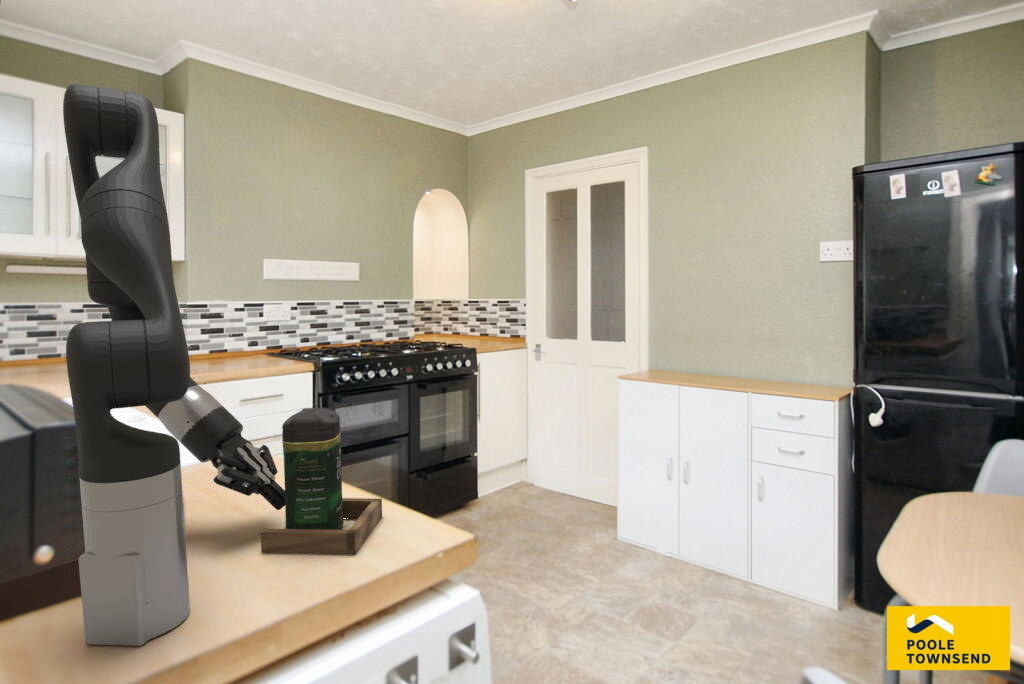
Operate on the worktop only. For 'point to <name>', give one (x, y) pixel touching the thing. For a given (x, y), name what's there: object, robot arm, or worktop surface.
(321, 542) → the wooden u-shaped frame
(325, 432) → the coffee jar
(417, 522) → the worktop surface
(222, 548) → the worktop surface
